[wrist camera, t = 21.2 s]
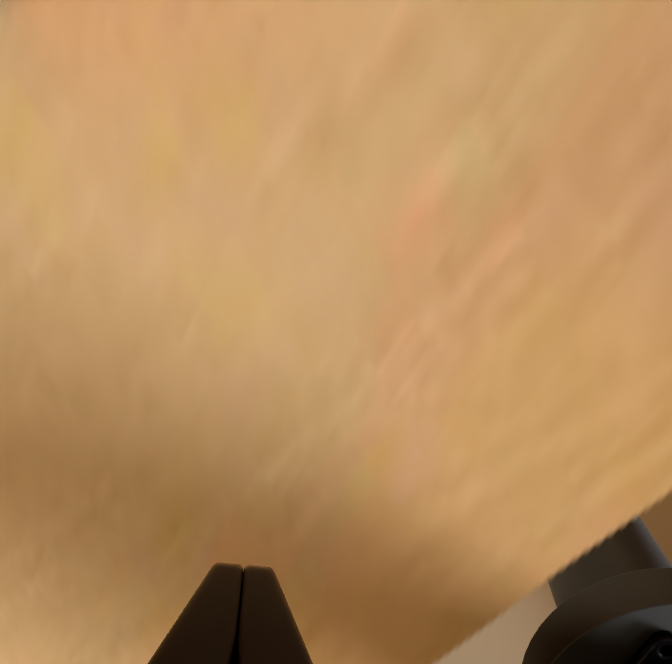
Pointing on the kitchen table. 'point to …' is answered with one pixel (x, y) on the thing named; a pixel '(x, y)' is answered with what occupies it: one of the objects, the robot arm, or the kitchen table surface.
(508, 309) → the kitchen table surface
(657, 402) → the kitchen table surface
